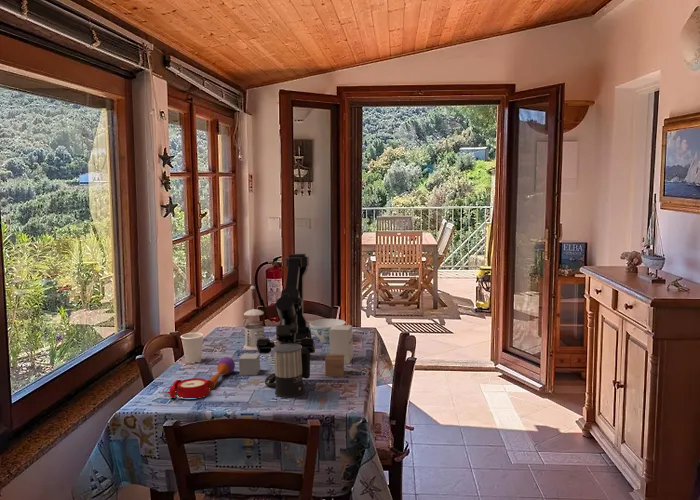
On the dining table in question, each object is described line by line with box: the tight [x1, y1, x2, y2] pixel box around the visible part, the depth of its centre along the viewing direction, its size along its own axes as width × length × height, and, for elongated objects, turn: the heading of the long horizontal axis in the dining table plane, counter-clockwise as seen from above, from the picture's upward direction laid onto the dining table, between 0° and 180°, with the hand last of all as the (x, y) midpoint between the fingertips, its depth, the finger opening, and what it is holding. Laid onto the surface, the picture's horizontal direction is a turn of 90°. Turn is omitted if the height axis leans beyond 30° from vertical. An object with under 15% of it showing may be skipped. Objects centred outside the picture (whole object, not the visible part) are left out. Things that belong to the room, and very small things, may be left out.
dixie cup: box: [180, 332, 204, 363], centre depth 230 cm, size 8×8×10 cm
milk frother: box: [264, 343, 311, 398], centre depth 196 cm, size 14×16×15 cm
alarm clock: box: [162, 377, 214, 398], centre depth 194 cm, size 10×6×15 cm
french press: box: [240, 285, 265, 351], centre depth 248 cm, size 10×12×25 cm
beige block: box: [238, 353, 261, 376], centre depth 215 cm, size 6×6×6 cm
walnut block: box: [324, 353, 345, 377], centre depth 211 cm, size 6×6×6 cm
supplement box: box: [329, 324, 354, 364], centre depth 226 cm, size 7×7×13 cm
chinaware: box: [309, 318, 346, 344], centre depth 255 cm, size 15×15×8 cm
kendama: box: [206, 356, 236, 390], centre depth 208 cm, size 6×6×20 cm
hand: (283, 368), depth 196 cm, fingers closed
